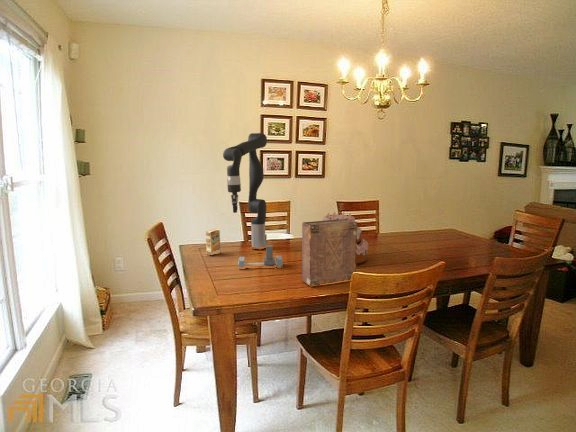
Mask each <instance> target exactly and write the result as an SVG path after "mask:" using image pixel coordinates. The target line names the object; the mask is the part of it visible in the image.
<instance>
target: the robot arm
mask: <svg viewBox="0 0 576 432" xmlns="http://www.w3.org/2000/svg"><path fill="white" fill-rule="evenodd" d="M267 139H268V137H267V135H266V134H265V133H262V132H255V133H254V132H253V133H252V132H251V133H249V135H248V138H247V140H246V141H242V142H241V143H239V144H237V145H234V146H231V147H228V148H226V149H224V151H223V153H222V157H223V159H224V160H225V161H227V162H232V164H230V165H227V167H226V170H227V171H226V173H227V174H226V176H227V178H226V183H227V184H226V185H227V192H228V193H232V194H231V195H230V198H231V205H232V213H233V214H234V213H235V214H236V213H238V201H239V194H238V193H240V192H241V191H242V184H241V176H240V168H241V167H240V166H241V162H242V157H244V156H245V155H248V156H249V157H248V159H249V160H248V161H249V165H248V167H249V168H248V170H249V171H248V173H249V174H248V175H249V176H248V177H249V178H248V179H249V186H248V188H249V190H248V199H247V200H248V202H247V204H248V206H247V207H248V211H249V212H250V213H253V214H257V216H256V217H252V218H251V220H250V224H251V225H250V228H251V229H250V234H251V235H250V237H251V242H250V243H251V246H252V247H256V248H259V247H265V246H266V245H268V244H267V243H268V241H267V240H268V239H267V237H268V236H267V234H266V219H267V202H266V200H265V199H263V198H261V199H260V198H257V195H258V190H259V188H260V187H261V185H262V183H263V181H264V167H263V165H262V162H261V161H260V159H259V157H258V155H257V150H258V149H263V148H265V147H266V146H267V143H268V140H267ZM252 247H251V248H252Z"/></svg>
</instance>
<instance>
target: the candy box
mask: <svg viewBox="0 0 576 432" xmlns="http://www.w3.org/2000/svg"><path fill="white" fill-rule="evenodd" d="M205 243H206V244H205V246H206V252H207V251H208V252H213V251H216V250H219V249H220V250H221V231H220V229H219V228H216V229H215V228H214V229H211V230H207V231H205Z"/></svg>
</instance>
